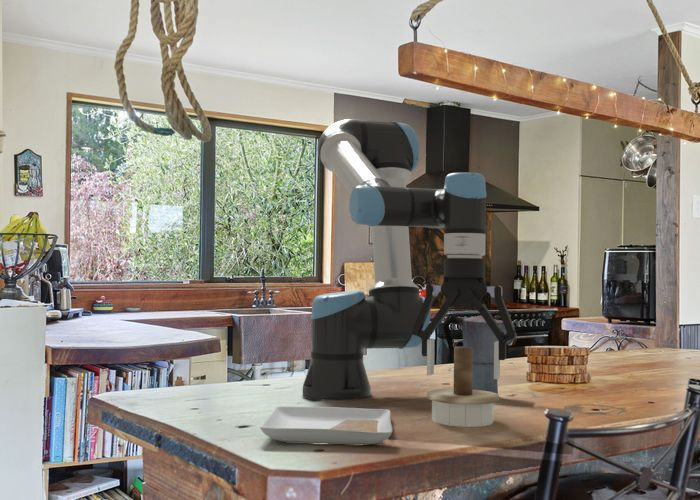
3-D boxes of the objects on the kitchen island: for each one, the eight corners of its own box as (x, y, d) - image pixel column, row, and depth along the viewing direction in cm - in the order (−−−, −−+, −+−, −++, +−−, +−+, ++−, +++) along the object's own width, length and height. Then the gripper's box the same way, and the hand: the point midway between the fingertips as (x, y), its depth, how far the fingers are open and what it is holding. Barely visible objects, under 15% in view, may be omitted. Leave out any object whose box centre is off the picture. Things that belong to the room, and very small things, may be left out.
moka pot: (511, 401, 171) (512, 309, 171) (440, 398, 174) (441, 308, 174) (511, 395, 180) (511, 308, 181) (443, 392, 183) (444, 306, 184)
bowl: (426, 429, 139) (426, 401, 139) (439, 418, 150) (439, 392, 150) (488, 434, 136) (488, 405, 136) (497, 422, 146) (497, 395, 146)
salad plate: (390, 425, 144) (390, 406, 144) (392, 452, 123) (392, 430, 123) (275, 423, 145) (275, 404, 145) (258, 449, 124) (258, 427, 124)
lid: (420, 401, 139) (420, 349, 139) (435, 391, 151) (435, 342, 151) (493, 406, 135) (494, 352, 135) (503, 395, 147) (503, 345, 147)
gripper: (396, 256, 144) (394, 375, 143) (529, 257, 136) (527, 382, 136) (406, 257, 151) (404, 370, 150) (532, 258, 143) (531, 377, 143)
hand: (463, 376), depth 143 cm, fingers open, 11 cm apart
